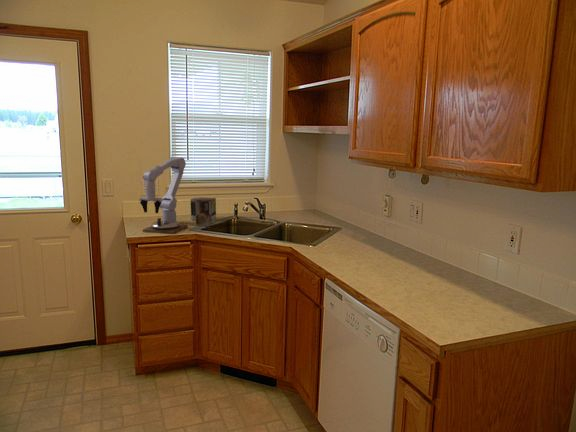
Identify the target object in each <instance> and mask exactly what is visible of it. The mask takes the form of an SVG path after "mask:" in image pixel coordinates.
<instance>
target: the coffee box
mask: <svg viewBox="0 0 576 432" xmlns="http://www.w3.org/2000/svg"><path fill="white" fill-rule="evenodd" d="M195 205H196V220H195V226H196V227H210V226H212V225H213V221H212V206H211V200H197V201H195Z"/></svg>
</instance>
